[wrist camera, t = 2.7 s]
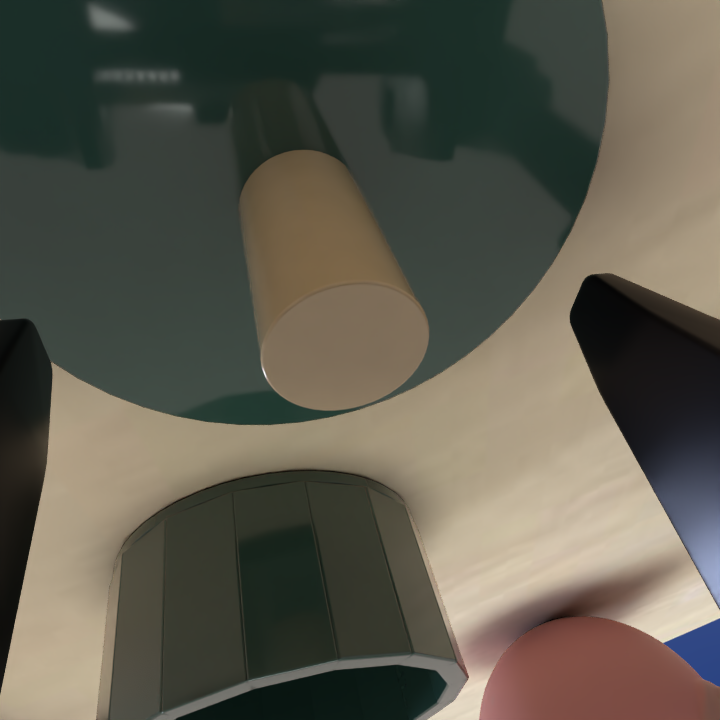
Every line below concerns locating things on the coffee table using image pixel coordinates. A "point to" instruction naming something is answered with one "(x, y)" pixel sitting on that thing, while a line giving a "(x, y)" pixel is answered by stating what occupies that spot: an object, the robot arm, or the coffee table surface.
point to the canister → (278, 608)
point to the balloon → (595, 676)
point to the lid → (287, 189)
